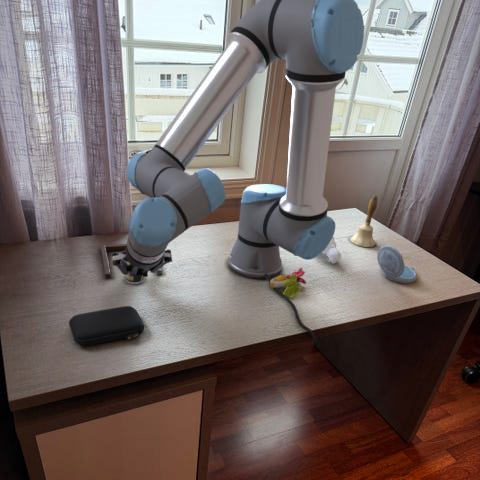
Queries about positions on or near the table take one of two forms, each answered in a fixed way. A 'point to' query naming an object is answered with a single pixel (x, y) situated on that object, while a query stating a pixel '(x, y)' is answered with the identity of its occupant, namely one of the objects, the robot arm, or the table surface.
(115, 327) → the carrying case
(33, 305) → the table surface
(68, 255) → the table surface
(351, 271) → the table surface
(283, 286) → the bird rattle
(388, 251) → the pocket watch
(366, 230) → the hand bell
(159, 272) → the bay
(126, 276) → the supplement bottle
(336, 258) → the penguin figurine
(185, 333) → the table surface
